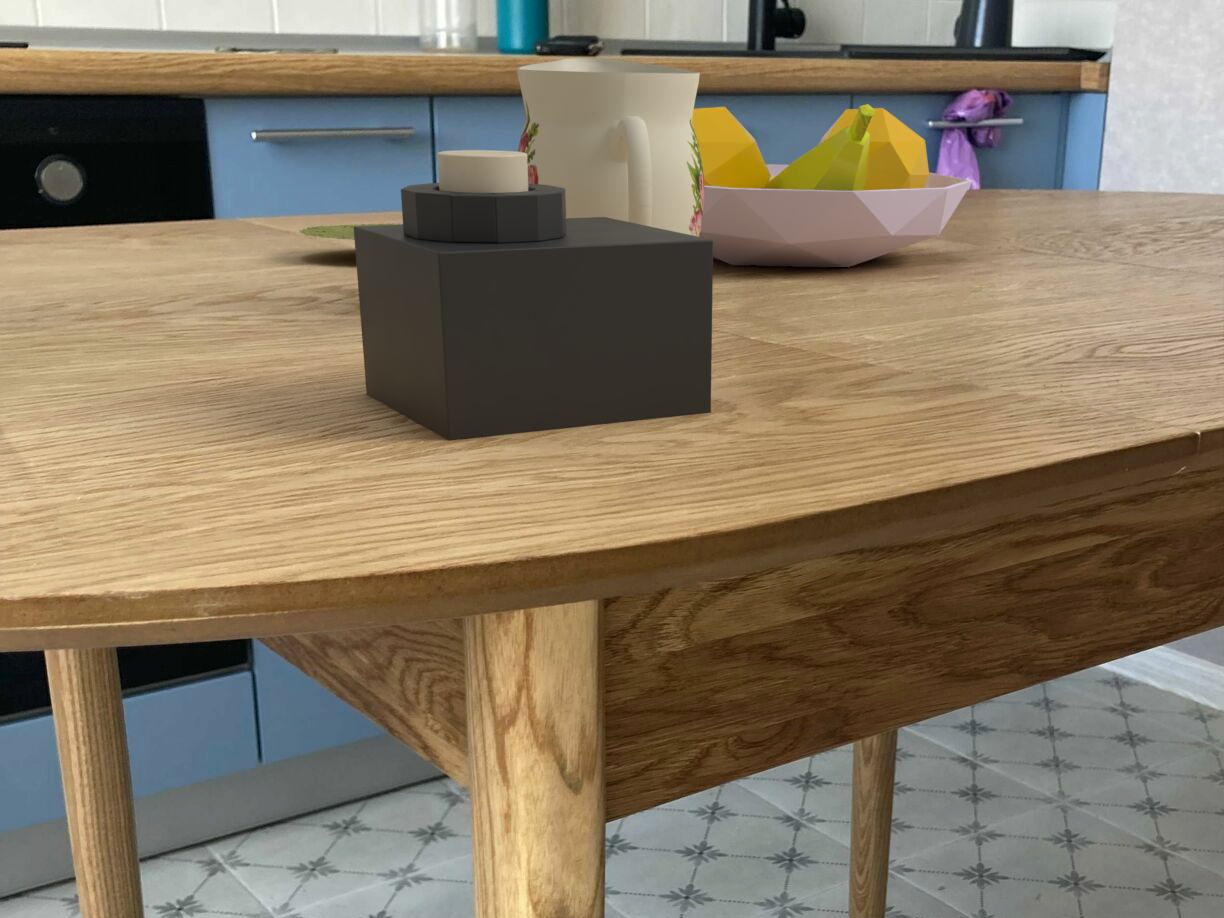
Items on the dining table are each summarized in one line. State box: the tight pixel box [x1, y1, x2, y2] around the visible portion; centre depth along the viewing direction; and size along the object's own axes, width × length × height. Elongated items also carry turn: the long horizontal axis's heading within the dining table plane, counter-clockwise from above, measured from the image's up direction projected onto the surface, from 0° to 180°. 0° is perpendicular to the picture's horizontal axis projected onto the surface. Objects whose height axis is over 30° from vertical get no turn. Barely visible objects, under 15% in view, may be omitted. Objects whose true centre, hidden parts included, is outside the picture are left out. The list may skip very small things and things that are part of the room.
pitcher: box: [516, 57, 704, 237], centre depth 89 cm, size 11×18×14 cm, turn 14°
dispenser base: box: [354, 182, 714, 442], centre depth 66 cm, size 12×10×9 cm
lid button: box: [437, 149, 528, 193], centre depth 63 cm, size 4×4×2 cm
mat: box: [299, 222, 401, 241], centre depth 113 cm, size 11×11×2 cm
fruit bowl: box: [692, 103, 974, 268], centre depth 115 cm, size 28×27×11 cm
